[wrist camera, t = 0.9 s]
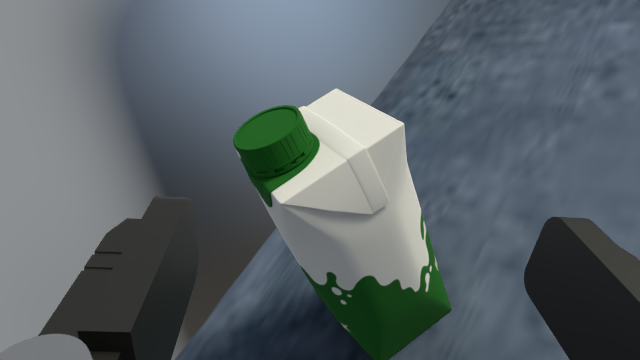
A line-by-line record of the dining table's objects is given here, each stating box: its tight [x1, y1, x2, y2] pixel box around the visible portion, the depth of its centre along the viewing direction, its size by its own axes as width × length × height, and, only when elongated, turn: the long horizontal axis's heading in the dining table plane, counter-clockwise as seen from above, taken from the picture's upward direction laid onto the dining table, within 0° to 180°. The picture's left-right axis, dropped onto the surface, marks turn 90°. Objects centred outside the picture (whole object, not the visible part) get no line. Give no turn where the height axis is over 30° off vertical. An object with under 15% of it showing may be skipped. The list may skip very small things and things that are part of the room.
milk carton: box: [233, 89, 452, 360], centre depth 29 cm, size 9×9×20 cm
